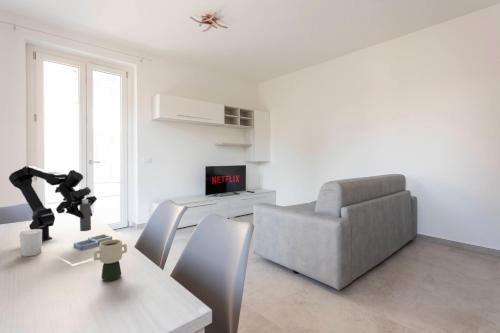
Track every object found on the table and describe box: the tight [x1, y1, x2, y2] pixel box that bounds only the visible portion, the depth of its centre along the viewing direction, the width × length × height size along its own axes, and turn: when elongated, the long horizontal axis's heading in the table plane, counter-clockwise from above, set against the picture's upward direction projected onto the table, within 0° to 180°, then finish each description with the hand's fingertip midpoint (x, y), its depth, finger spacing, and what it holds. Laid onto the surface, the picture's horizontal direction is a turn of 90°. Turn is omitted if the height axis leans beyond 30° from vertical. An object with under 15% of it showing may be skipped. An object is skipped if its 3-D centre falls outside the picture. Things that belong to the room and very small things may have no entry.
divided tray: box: [73, 233, 113, 251], centre depth 129 cm, size 11×16×2 cm
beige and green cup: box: [93, 239, 128, 281], centre depth 93 cm, size 11×7×13 cm, turn 135°
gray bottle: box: [79, 198, 92, 232], centre depth 130 cm, size 4×4×15 cm
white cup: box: [18, 229, 43, 257], centre depth 117 cm, size 8×8×10 cm
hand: (87, 216), depth 129 cm, fingers closed on gray bottle, 4 cm apart
